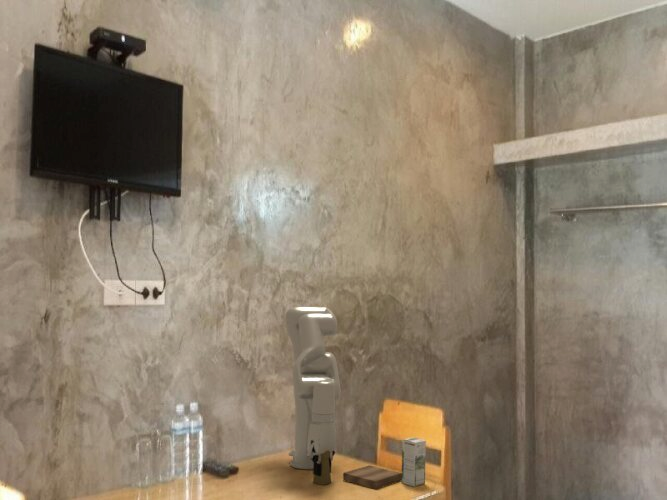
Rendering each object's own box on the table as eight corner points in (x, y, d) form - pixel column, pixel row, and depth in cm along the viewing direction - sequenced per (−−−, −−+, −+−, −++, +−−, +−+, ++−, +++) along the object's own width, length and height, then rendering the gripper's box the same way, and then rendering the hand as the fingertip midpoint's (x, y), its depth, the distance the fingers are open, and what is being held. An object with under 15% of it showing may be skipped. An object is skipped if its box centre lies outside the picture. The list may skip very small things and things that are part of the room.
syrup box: (411, 480, 213) (412, 436, 215) (425, 484, 209) (426, 439, 210) (401, 483, 209) (401, 439, 211) (415, 487, 205) (415, 442, 206)
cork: (329, 485, 206) (329, 451, 206) (311, 483, 207) (311, 449, 208) (332, 479, 212) (333, 446, 212) (315, 478, 213) (316, 445, 214)
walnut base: (343, 480, 212) (343, 472, 212) (369, 472, 222) (369, 465, 222) (375, 489, 202) (375, 481, 203) (401, 480, 213) (401, 473, 213)
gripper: (332, 413, 219) (331, 466, 218) (297, 419, 207) (296, 476, 206) (348, 416, 214) (347, 471, 213) (313, 423, 202) (312, 481, 201)
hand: (322, 473), depth 210 cm, fingers closed on cork, 4 cm apart
